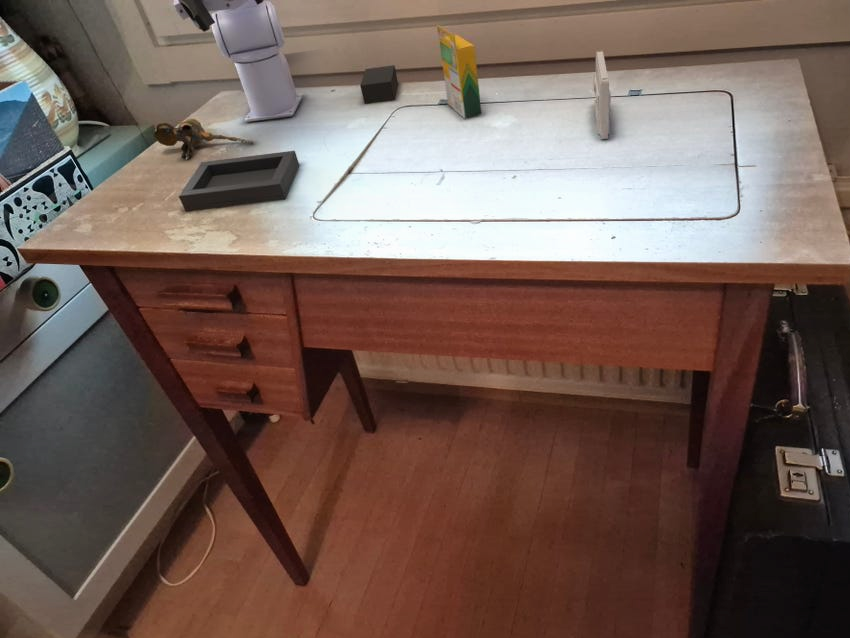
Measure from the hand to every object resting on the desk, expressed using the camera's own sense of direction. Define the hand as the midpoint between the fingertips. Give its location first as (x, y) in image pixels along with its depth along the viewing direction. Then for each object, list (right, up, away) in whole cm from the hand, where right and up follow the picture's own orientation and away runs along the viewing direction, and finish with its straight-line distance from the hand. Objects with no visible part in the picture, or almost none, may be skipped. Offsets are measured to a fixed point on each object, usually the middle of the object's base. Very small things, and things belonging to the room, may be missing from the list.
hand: (227, 9), depth 82 cm
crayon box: (+29, -6, +19) cm, 35 cm away
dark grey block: (+15, +1, +28) cm, 32 cm away
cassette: (+48, -11, +9) cm, 50 cm away
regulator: (-11, -11, +19) cm, 25 cm away
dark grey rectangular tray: (0, -20, +7) cm, 21 cm away
